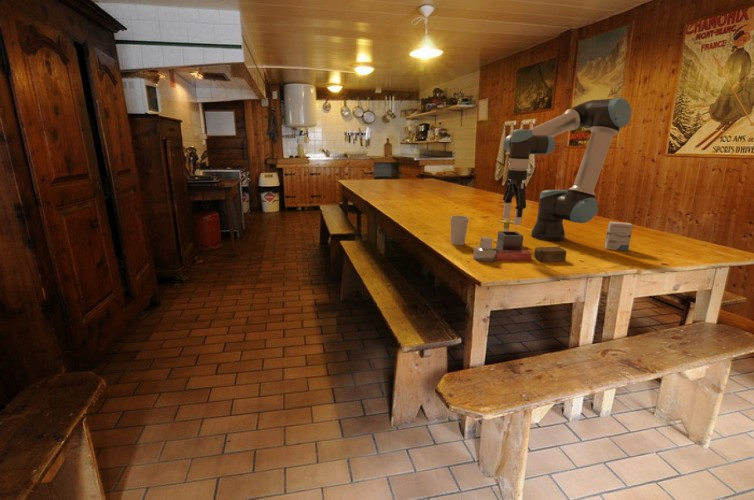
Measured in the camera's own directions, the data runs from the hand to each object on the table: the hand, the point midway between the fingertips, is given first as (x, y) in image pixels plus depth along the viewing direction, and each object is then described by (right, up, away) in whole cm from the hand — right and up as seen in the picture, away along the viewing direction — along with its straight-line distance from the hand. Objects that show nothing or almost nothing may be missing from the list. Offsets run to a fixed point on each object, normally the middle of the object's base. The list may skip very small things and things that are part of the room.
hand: (511, 221), depth 166 cm
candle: (+4, -8, +20) cm, 22 cm away
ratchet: (-6, -15, -6) cm, 18 cm away
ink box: (+50, -12, +11) cm, 52 cm away
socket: (0, -13, +4) cm, 13 cm away
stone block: (+13, -16, -6) cm, 22 cm away
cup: (-19, -9, +16) cm, 27 cm away
